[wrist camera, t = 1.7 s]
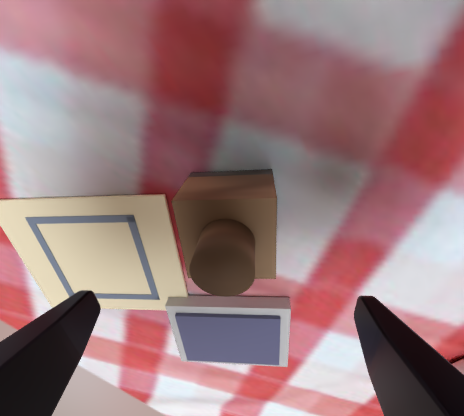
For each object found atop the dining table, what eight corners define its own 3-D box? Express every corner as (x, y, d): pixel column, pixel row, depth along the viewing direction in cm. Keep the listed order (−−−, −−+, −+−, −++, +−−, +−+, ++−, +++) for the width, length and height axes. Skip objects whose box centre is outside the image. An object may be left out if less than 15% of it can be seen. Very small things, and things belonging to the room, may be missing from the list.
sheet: (165, 194, 14) (163, 196, 14) (191, 308, 19) (190, 311, 19) (-12, 199, 16) (-16, 201, 15) (53, 305, 20) (51, 307, 20)
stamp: (271, 168, 13) (281, 223, 8) (271, 236, 15) (279, 313, 10) (191, 172, 14) (154, 226, 9) (202, 237, 16) (177, 310, 11)
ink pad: (289, 297, 17) (291, 312, 16) (286, 354, 21) (287, 370, 19) (169, 295, 18) (163, 309, 17) (184, 349, 22) (180, 364, 21)
